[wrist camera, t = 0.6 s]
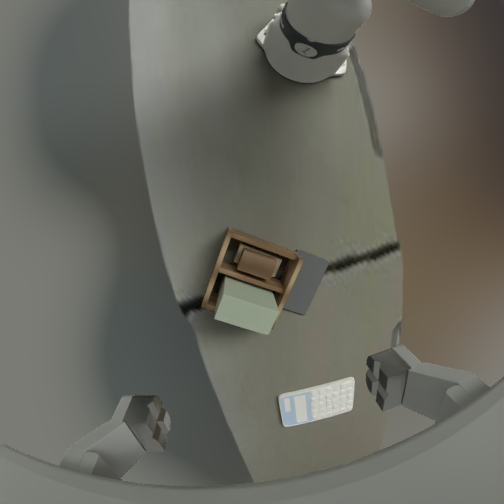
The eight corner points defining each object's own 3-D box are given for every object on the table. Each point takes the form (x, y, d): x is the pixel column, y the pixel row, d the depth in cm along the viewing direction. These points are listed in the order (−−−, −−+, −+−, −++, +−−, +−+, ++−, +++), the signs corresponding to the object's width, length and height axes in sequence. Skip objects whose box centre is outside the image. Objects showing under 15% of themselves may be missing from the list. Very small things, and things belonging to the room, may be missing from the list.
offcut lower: (240, 240, 51) (240, 243, 48) (279, 255, 52) (282, 259, 49) (233, 257, 51) (233, 261, 49) (272, 272, 53) (274, 277, 50)
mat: (296, 249, 51) (297, 250, 51) (328, 261, 52) (329, 262, 52) (273, 304, 54) (273, 305, 53) (304, 313, 55) (304, 314, 54)
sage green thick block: (226, 269, 52) (223, 293, 40) (269, 284, 53) (279, 311, 41) (218, 290, 53) (214, 318, 41) (261, 304, 54) (268, 335, 42)
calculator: (351, 406, 64) (353, 411, 62) (282, 424, 64) (283, 428, 62) (353, 374, 61) (355, 378, 59) (276, 393, 61) (277, 398, 59)
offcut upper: (243, 247, 48) (244, 250, 46) (275, 258, 49) (277, 262, 46) (237, 265, 49) (237, 269, 46) (268, 276, 50) (269, 280, 47)
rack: (228, 226, 50) (227, 232, 44) (296, 252, 52) (303, 260, 46) (204, 293, 53) (201, 306, 47) (268, 314, 54) (272, 329, 49)
